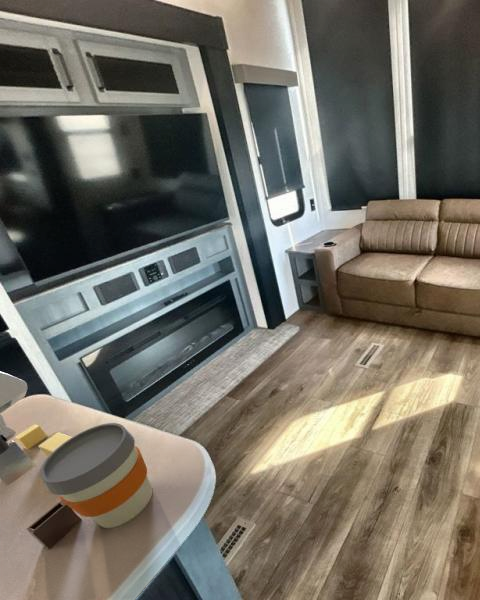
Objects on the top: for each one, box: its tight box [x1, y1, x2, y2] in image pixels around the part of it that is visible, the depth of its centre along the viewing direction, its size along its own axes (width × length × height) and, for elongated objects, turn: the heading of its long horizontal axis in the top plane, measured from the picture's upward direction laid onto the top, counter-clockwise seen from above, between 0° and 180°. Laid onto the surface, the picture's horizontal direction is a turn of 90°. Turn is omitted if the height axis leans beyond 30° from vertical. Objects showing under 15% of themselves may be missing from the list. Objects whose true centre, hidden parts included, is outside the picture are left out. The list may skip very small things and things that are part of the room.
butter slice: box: [14, 424, 48, 450], centre depth 86 cm, size 2×4×4 cm, turn 159°
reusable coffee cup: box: [39, 422, 153, 529], centre depth 65 cm, size 13×12×15 cm
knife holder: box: [25, 500, 82, 550], centre depth 64 cm, size 5×2×5 cm, turn 159°
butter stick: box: [38, 432, 73, 458], centre depth 81 cm, size 7×4×4 cm, turn 68°
